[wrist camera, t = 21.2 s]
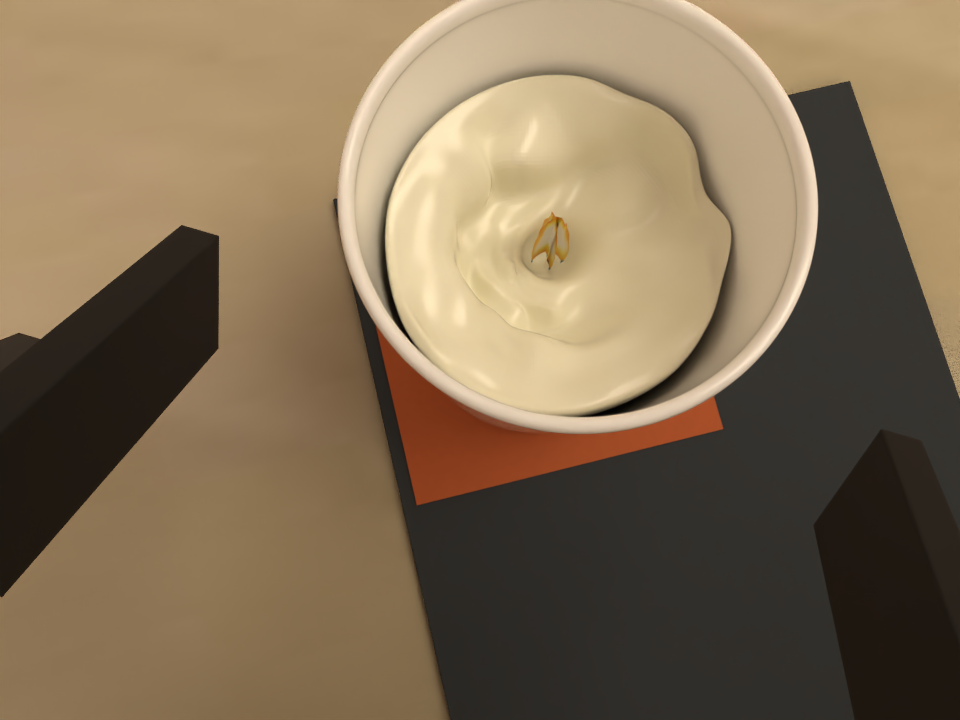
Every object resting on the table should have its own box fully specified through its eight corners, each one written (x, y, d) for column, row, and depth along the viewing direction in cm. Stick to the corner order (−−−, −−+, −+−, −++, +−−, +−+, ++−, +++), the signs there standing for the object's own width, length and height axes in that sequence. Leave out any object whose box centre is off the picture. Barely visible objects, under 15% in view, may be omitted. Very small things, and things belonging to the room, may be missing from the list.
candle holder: (603, 148, 28) (698, -93, 16) (715, 392, 27) (905, 320, 15) (355, 243, 28) (267, 64, 16) (456, 499, 26) (442, 512, 14)
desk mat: (846, 84, 29) (851, 79, 29) (1048, 671, 26) (1057, 674, 26) (334, 201, 28) (332, 198, 28) (475, 826, 25) (475, 831, 25)
